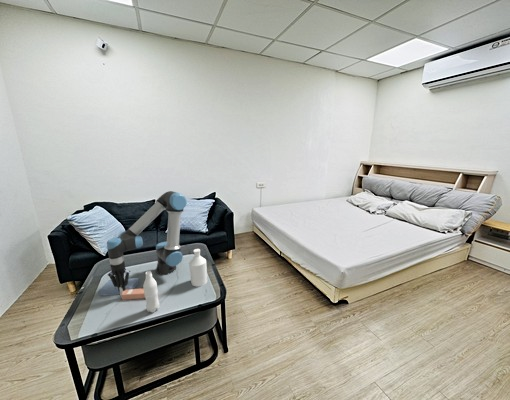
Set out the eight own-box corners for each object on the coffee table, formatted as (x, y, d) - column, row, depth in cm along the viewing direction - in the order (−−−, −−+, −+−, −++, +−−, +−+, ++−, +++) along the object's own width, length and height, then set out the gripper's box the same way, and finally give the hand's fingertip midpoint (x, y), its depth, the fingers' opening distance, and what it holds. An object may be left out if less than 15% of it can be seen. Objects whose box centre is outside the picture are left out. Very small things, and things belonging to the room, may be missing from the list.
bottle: (200, 275, 165) (197, 245, 159) (211, 280, 158) (208, 249, 153) (187, 283, 155) (184, 251, 150) (198, 288, 149) (195, 255, 143)
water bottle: (149, 305, 133) (144, 269, 127) (161, 305, 133) (156, 268, 128) (144, 314, 126) (139, 276, 120) (157, 313, 126) (152, 275, 121)
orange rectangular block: (157, 292, 145) (156, 287, 145) (154, 297, 140) (153, 292, 139) (126, 294, 144) (125, 289, 143) (122, 299, 138) (121, 294, 138)
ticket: (138, 282, 157) (138, 277, 156) (131, 293, 145) (130, 288, 144) (109, 284, 155) (109, 279, 154) (99, 295, 144) (98, 290, 143)
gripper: (130, 258, 140) (135, 290, 145) (109, 260, 139) (115, 292, 144) (125, 264, 132) (130, 298, 138) (102, 266, 131) (109, 299, 137)
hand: (122, 295), depth 141 cm, fingers closed
